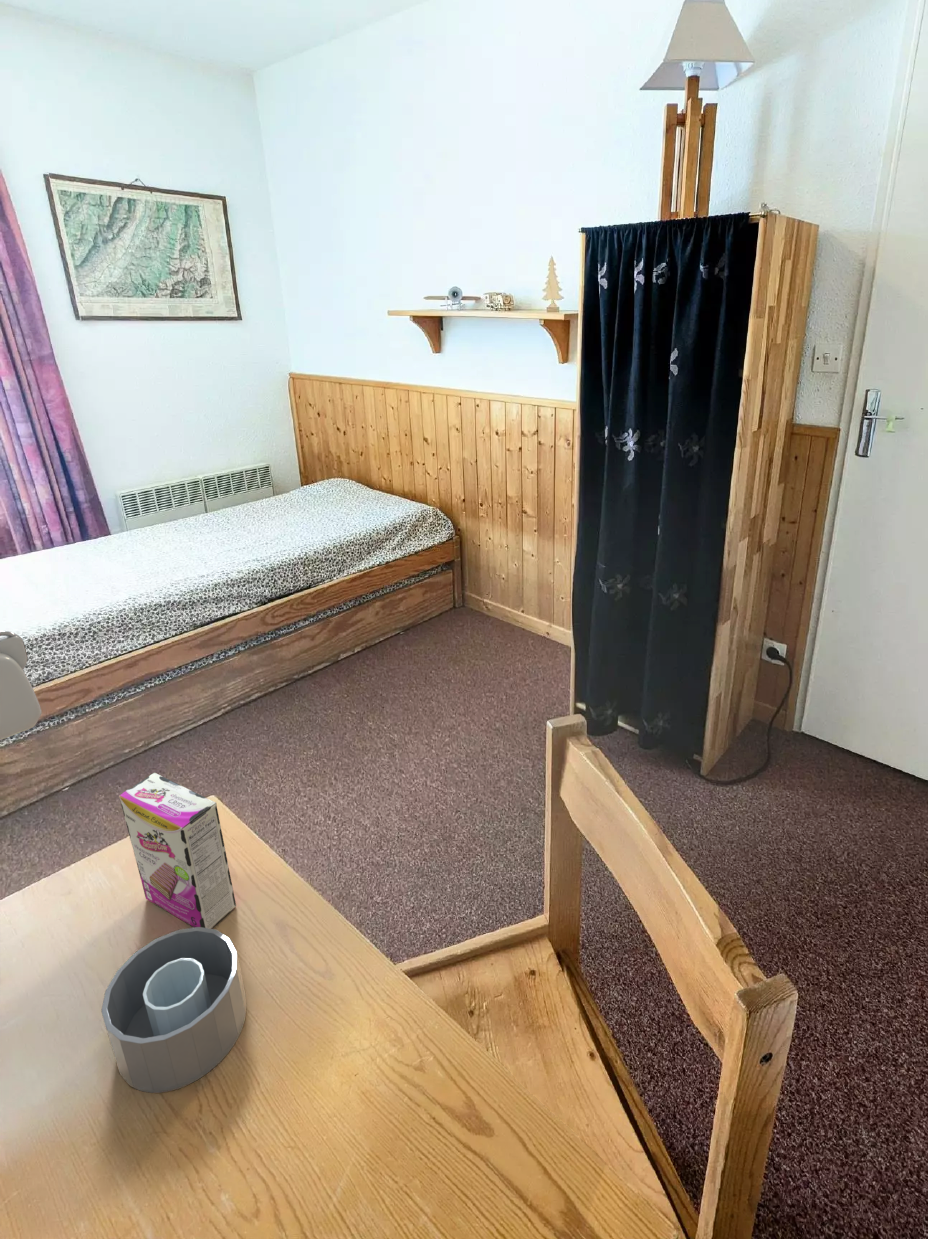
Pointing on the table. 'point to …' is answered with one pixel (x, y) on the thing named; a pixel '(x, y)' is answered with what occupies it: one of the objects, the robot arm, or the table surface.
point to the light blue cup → (176, 995)
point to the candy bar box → (179, 850)
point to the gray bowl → (191, 1046)
